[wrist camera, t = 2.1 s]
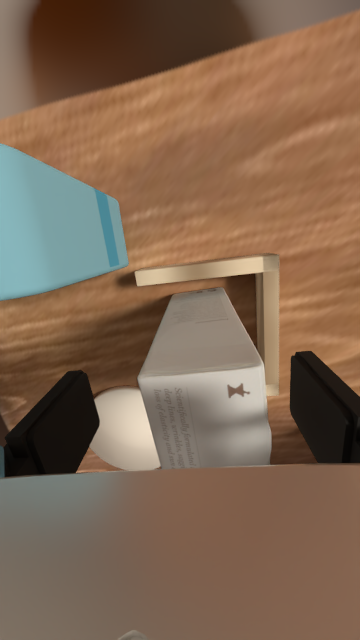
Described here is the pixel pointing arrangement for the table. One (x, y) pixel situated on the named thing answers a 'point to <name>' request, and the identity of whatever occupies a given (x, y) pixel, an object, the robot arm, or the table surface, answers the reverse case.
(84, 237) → the data package
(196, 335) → the skincare box
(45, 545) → the robot arm
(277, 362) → the stand
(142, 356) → the table surface
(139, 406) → the ceramic coaster
